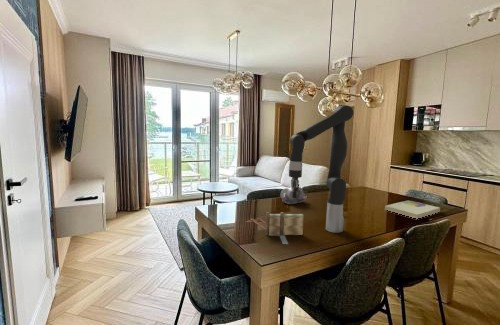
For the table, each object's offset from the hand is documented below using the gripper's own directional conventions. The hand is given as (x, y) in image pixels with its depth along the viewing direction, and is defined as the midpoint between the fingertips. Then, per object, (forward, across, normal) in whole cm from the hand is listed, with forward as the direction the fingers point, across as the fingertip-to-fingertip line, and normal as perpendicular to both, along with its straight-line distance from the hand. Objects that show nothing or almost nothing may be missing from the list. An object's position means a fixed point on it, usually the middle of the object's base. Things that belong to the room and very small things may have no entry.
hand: (294, 197), depth 146 cm
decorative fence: (+22, +9, +17) cm, 29 cm away
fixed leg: (+20, -7, +12) cm, 24 cm away
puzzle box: (+21, +42, -104) cm, 114 cm away
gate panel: (+20, -7, +1) cm, 21 cm away
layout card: (+21, -11, +8) cm, 25 cm away
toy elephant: (+21, +62, -13) cm, 67 cm away
